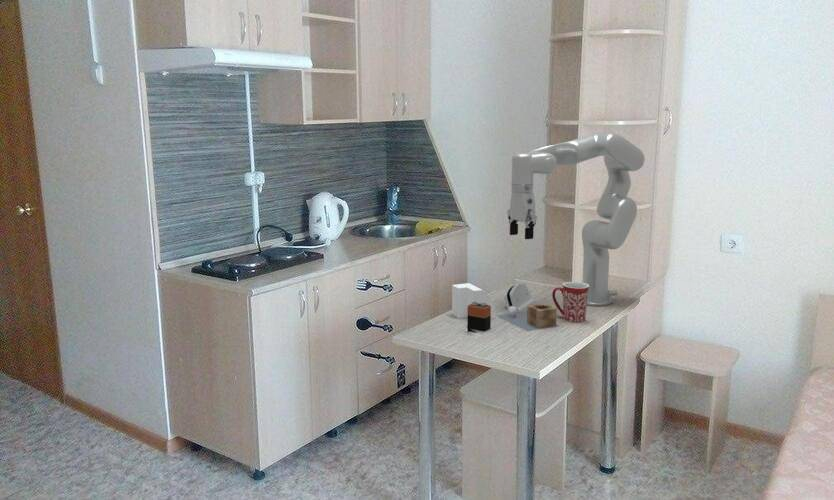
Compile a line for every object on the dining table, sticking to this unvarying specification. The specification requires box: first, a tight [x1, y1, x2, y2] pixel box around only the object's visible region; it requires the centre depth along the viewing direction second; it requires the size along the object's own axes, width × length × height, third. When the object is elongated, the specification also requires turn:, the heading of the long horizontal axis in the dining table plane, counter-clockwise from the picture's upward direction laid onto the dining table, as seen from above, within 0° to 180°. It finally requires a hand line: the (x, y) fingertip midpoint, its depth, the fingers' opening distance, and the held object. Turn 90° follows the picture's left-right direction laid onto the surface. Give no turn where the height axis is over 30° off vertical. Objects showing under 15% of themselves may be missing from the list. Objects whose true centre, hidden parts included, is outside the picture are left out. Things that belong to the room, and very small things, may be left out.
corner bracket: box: [451, 282, 495, 320], centre depth 239 cm, size 11×11×12 cm
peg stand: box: [495, 306, 560, 332], centre depth 233 cm, size 13×20×6 cm, turn 25°
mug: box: [552, 281, 589, 323], centre depth 235 cm, size 13×9×14 cm
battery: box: [466, 302, 492, 334], centre depth 225 cm, size 4×7×10 cm, turn 56°
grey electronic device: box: [503, 283, 536, 312], centre depth 253 cm, size 17×5×10 cm, turn 151°
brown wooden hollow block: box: [526, 303, 558, 329], centre depth 229 cm, size 7×7×6 cm
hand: (521, 236), depth 241 cm, fingers open, 9 cm apart
